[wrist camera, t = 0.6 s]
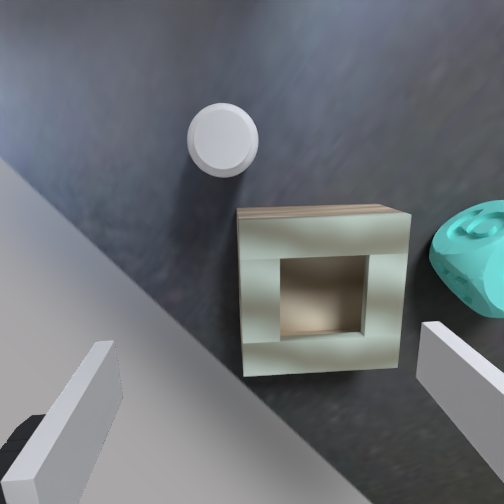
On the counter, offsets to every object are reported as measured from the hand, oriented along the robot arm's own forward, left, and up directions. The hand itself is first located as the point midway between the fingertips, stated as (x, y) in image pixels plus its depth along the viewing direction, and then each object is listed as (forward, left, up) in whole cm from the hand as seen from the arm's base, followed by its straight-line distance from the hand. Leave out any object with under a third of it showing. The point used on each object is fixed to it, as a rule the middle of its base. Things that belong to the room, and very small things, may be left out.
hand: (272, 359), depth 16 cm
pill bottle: (-9, -2, -22) cm, 24 cm away
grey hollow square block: (+4, +6, -22) cm, 23 cm away
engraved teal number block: (+2, +23, -22) cm, 32 cm away
